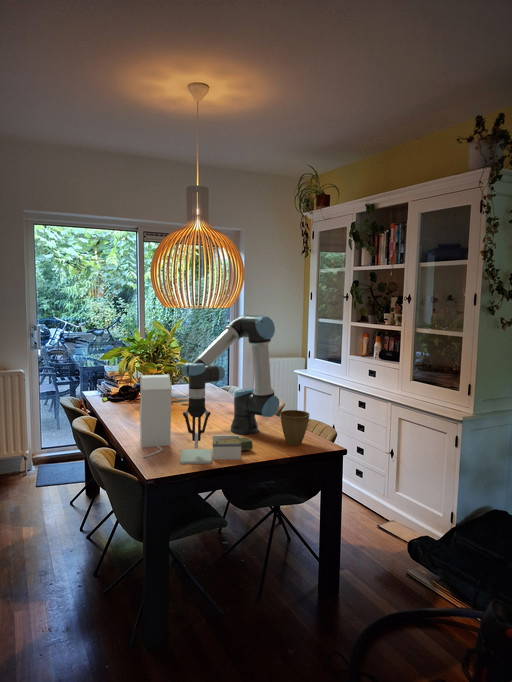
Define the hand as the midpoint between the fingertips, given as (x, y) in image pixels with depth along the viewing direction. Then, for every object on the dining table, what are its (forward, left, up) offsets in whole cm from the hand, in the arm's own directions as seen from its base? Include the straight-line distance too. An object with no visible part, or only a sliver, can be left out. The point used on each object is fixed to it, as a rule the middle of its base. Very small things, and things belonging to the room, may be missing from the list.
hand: (196, 447), depth 230 cm
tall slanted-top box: (-17, -21, -5) cm, 27 cm away
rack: (-6, +14, -5) cm, 16 cm away
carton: (-6, +13, -7) cm, 16 cm away
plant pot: (-20, +49, -5) cm, 53 cm away
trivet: (0, 0, -5) cm, 5 cm away
